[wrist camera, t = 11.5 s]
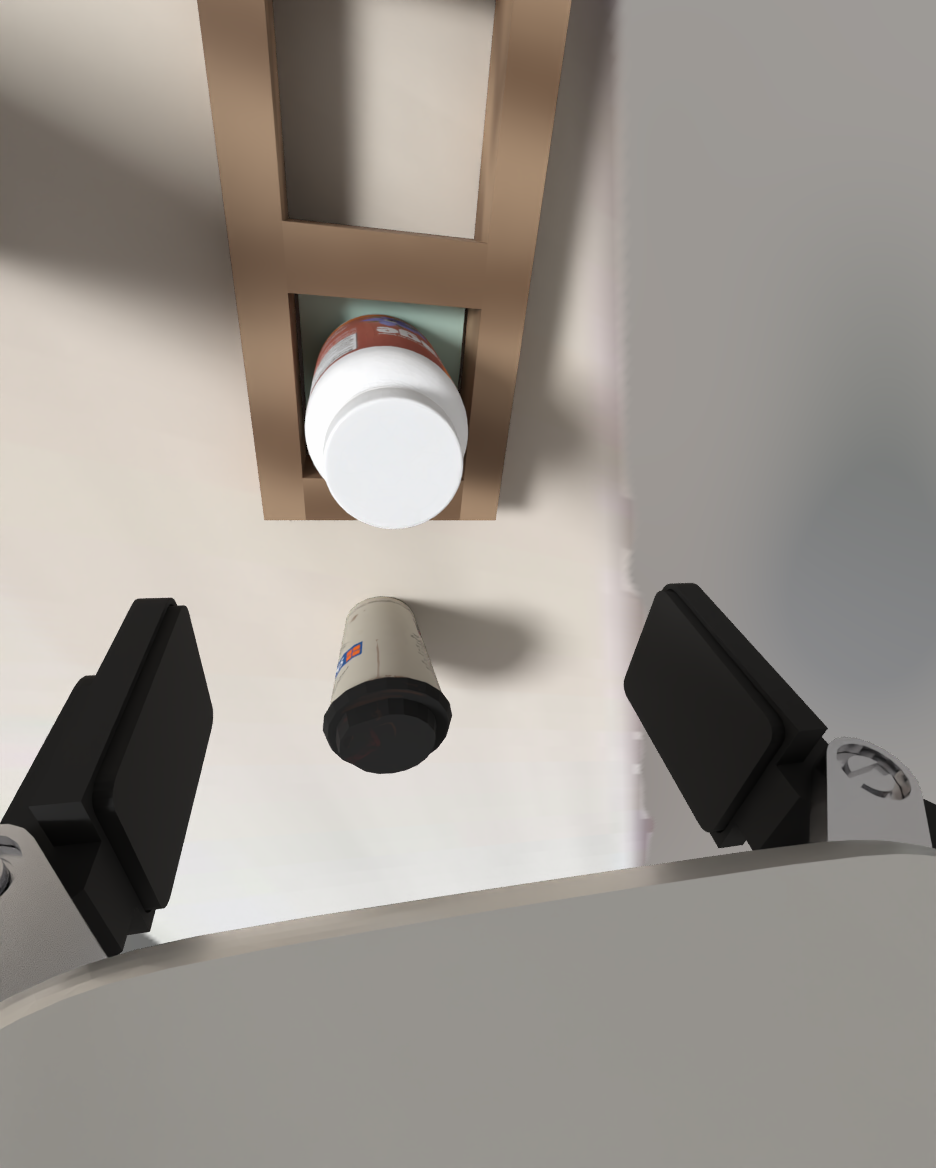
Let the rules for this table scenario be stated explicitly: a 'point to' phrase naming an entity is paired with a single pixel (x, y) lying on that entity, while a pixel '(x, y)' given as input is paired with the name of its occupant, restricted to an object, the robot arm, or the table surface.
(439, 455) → the pill bottle
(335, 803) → the table surface
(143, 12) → the table surface
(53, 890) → the robot arm
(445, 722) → the coffee cup
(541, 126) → the holder frame
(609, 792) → the table surface
